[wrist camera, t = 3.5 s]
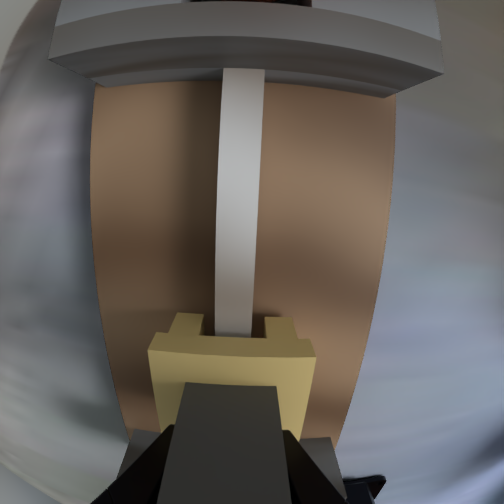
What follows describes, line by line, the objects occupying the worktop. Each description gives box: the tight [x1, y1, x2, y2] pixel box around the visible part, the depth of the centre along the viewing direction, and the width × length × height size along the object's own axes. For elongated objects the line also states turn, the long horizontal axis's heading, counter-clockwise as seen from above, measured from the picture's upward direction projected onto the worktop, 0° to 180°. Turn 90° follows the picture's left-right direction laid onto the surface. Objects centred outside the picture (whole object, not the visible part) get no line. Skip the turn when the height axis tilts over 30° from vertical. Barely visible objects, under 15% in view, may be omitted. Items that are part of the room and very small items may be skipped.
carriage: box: [148, 312, 316, 504], centre depth 8 cm, size 5×5×8 cm
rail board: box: [48, 0, 444, 499], centre depth 10 cm, size 24×11×6 cm, turn 177°
